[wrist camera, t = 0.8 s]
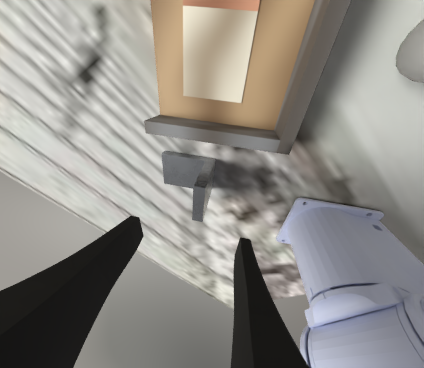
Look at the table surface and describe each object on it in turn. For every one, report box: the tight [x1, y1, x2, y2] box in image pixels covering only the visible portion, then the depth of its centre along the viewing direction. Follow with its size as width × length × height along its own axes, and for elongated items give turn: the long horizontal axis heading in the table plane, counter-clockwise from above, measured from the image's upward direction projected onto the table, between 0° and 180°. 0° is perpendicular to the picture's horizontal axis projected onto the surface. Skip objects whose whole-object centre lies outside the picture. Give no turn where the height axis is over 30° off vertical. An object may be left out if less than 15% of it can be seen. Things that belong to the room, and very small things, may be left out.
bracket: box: [162, 151, 216, 222], centre depth 16 cm, size 6×4×6 cm, turn 84°
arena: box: [144, 0, 351, 155], centre depth 11 cm, size 12×12×4 cm
